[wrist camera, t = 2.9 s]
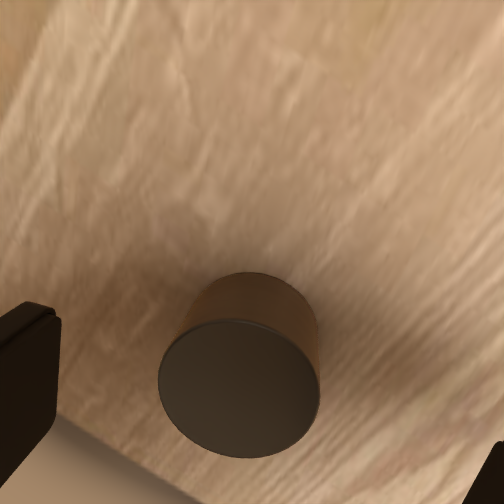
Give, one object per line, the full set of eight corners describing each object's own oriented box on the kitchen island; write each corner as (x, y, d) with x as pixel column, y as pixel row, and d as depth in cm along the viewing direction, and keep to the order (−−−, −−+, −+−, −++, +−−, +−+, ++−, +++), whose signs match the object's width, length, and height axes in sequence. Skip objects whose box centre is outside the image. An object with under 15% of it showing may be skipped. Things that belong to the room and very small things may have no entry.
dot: (180, 368, 14) (146, 435, 11) (201, 257, 12) (169, 300, 9) (299, 400, 13) (296, 477, 11) (333, 290, 12) (341, 344, 9)
